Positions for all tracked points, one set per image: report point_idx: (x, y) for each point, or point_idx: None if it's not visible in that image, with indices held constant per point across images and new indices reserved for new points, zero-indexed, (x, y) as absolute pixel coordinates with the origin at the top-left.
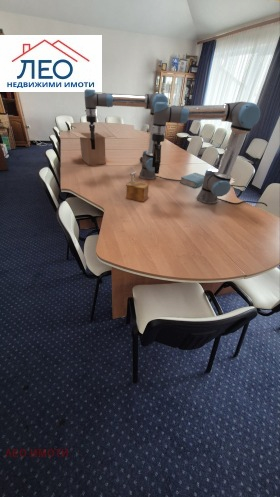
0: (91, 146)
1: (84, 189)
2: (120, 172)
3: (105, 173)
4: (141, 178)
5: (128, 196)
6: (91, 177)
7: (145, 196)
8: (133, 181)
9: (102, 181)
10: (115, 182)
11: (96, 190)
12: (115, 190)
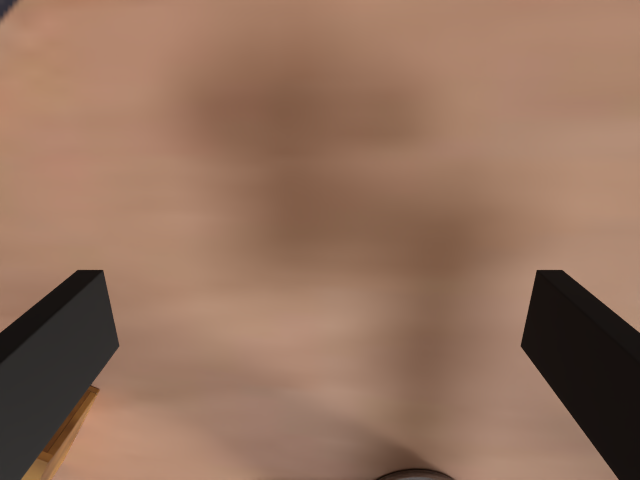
0: (35, 310)
1: (126, 48)
2: None
3: (545, 245)
4: (384, 476)
5: None
6: (448, 112)
7: None
8: (32, 473)
9: (334, 212)
10: (310, 310)
11: (120, 158)
12: (143, 299)
